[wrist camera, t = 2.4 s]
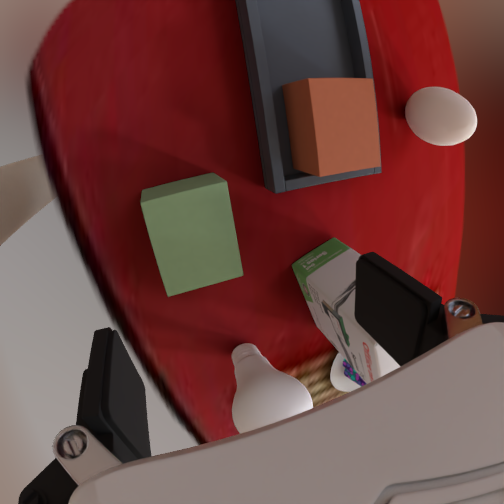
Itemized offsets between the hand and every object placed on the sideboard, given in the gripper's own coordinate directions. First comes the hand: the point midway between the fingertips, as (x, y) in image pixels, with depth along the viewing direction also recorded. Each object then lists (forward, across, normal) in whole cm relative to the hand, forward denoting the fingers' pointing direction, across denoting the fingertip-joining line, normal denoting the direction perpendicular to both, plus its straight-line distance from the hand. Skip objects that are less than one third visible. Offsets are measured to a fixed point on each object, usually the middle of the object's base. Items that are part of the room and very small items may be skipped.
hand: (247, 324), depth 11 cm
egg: (+14, -21, -6) cm, 26 cm away
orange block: (+13, -10, -6) cm, 17 cm away
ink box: (+13, -10, +9) cm, 19 cm away
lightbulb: (+13, -1, +13) cm, 19 cm away
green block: (+13, +1, 0) cm, 13 cm away
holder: (+13, -10, -10) cm, 20 cm away
